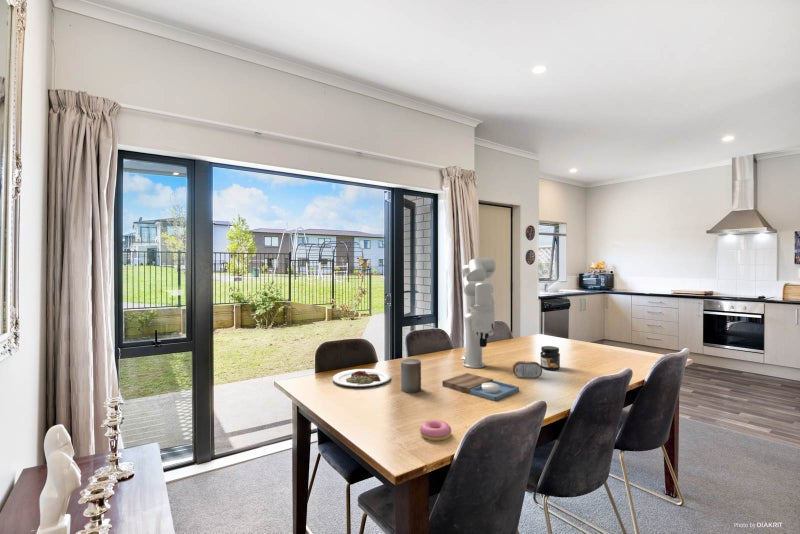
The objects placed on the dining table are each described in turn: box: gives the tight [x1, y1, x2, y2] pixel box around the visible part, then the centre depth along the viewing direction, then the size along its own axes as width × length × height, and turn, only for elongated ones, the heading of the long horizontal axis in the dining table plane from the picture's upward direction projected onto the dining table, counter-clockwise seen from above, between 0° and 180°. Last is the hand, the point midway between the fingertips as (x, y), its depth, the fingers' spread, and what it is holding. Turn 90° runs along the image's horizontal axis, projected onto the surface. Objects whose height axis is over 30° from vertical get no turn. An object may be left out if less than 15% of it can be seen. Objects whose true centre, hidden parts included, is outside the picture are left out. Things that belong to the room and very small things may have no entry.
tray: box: [469, 380, 520, 402], centre depth 181 cm, size 14×20×2 cm
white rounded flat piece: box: [482, 383, 499, 393], centre depth 182 cm, size 8×8×2 cm
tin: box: [512, 360, 543, 379], centre depth 205 cm, size 15×3×8 cm, turn 84°
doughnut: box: [419, 419, 452, 442], centre depth 136 cm, size 11×11×4 cm
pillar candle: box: [400, 358, 422, 394], centre depth 186 cm, size 10×10×15 cm
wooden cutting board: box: [441, 372, 494, 395], centre depth 192 cm, size 16×20×2 cm
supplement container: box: [539, 345, 561, 372], centre depth 223 cm, size 10×10×12 cm
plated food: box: [332, 368, 391, 388], centre depth 202 cm, size 30×30×3 cm
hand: (483, 346), depth 186 cm, fingers closed
